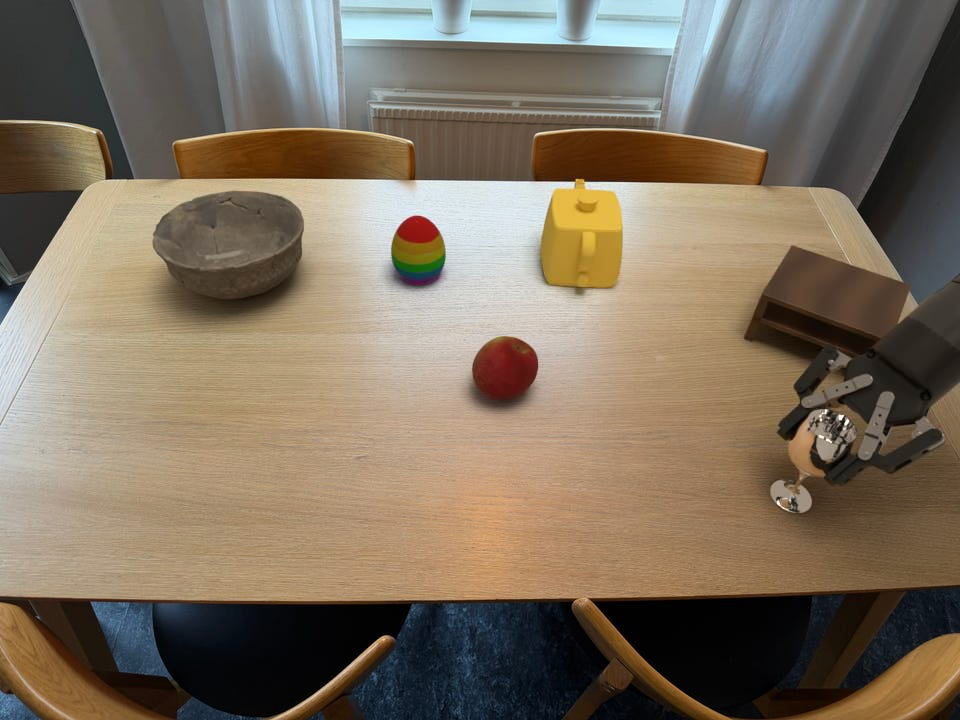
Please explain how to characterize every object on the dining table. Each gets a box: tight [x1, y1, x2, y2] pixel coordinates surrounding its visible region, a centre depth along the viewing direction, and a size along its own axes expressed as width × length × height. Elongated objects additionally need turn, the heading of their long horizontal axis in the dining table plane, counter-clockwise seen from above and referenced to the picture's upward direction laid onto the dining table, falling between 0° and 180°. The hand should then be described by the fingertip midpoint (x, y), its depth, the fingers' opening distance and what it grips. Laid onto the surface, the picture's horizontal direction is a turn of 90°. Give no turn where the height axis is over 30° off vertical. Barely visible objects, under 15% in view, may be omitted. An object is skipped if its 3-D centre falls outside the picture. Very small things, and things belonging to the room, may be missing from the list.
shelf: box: [743, 244, 912, 359], centre depth 91 cm, size 16×14×8 cm
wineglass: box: [769, 409, 858, 514], centre depth 69 cm, size 6×6×12 cm
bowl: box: [151, 190, 305, 300], centre depth 96 cm, size 21×21×10 cm
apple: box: [471, 335, 539, 401], centre depth 82 cm, size 8×8×8 cm
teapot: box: [540, 178, 624, 289], centre depth 101 cm, size 20×12×12 cm, turn 177°
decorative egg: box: [390, 215, 447, 285], centre depth 98 cm, size 8×8×10 cm
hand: (804, 458), depth 67 cm, fingers closed on wineglass, 5 cm apart
